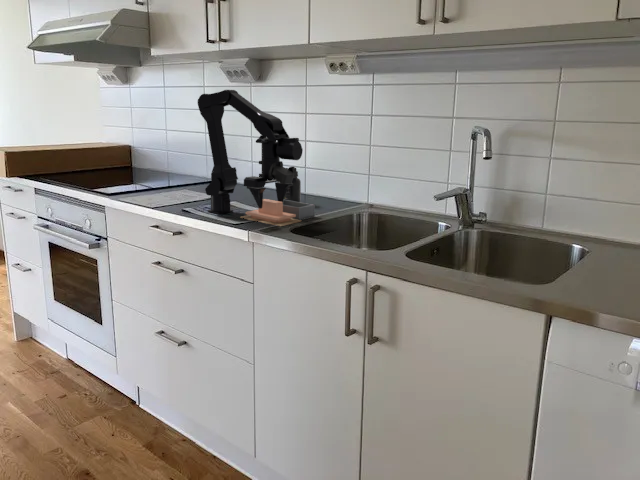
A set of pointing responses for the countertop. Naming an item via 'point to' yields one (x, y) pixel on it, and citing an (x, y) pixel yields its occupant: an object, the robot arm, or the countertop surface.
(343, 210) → the countertop surface
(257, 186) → the robot arm
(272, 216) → the lid
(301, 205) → the storage box
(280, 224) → the light wood flat board
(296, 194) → the supplement bottle
